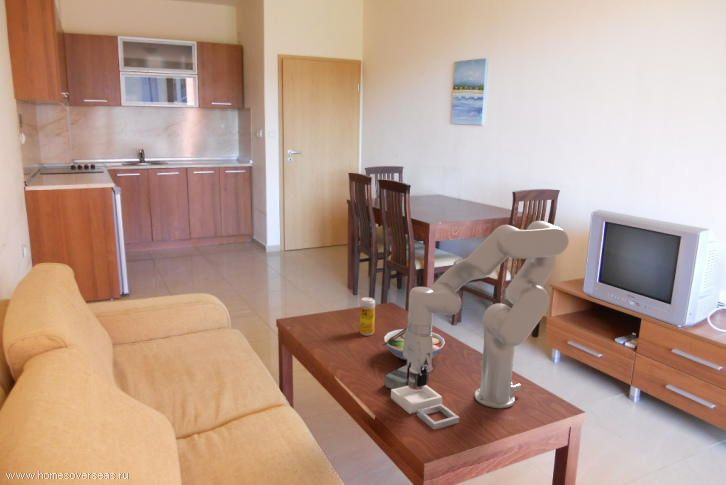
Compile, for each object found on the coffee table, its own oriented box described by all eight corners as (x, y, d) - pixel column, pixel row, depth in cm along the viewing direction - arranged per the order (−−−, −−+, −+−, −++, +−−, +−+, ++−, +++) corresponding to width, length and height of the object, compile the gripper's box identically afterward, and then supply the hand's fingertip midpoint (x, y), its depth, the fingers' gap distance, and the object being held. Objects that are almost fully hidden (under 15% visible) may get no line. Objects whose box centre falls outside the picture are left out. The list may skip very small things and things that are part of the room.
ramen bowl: (424, 378, 191) (426, 356, 190) (369, 361, 204) (370, 340, 202) (455, 354, 212) (456, 334, 210) (403, 340, 224) (404, 321, 222)
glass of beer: (357, 335, 229) (358, 300, 225) (362, 330, 234) (363, 296, 231) (371, 337, 227) (372, 302, 224) (375, 331, 233) (376, 297, 229)
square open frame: (440, 408, 171) (441, 403, 170) (458, 422, 163) (459, 417, 163) (416, 415, 167) (416, 409, 166) (434, 429, 159) (434, 424, 159)
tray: (421, 390, 182) (422, 382, 182) (441, 405, 173) (442, 396, 172) (390, 398, 177) (391, 389, 176) (409, 414, 167) (410, 405, 167)
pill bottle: (405, 385, 175) (407, 360, 173) (418, 383, 177) (420, 358, 175) (412, 392, 171) (414, 366, 169) (426, 389, 172) (427, 364, 171)
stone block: (381, 387, 185) (381, 372, 184) (408, 374, 195) (409, 360, 194) (401, 396, 179) (402, 381, 177) (428, 382, 189) (429, 368, 188)
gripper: (394, 319, 175) (392, 373, 179) (425, 338, 160) (421, 396, 164) (414, 316, 179) (411, 369, 182) (446, 335, 164) (442, 391, 168)
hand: (416, 381), depth 173 cm, fingers closed on pill bottle, 4 cm apart
